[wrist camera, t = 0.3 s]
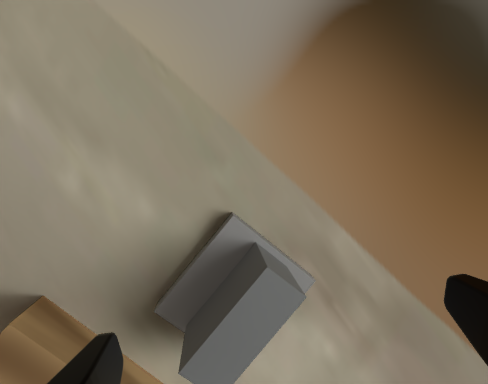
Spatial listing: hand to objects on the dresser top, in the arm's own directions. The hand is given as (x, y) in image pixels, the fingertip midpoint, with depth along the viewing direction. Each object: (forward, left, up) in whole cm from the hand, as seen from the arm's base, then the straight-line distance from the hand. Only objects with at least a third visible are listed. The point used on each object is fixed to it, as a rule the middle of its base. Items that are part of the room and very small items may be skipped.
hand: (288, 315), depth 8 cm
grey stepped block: (-5, -4, -15) cm, 16 cm away
